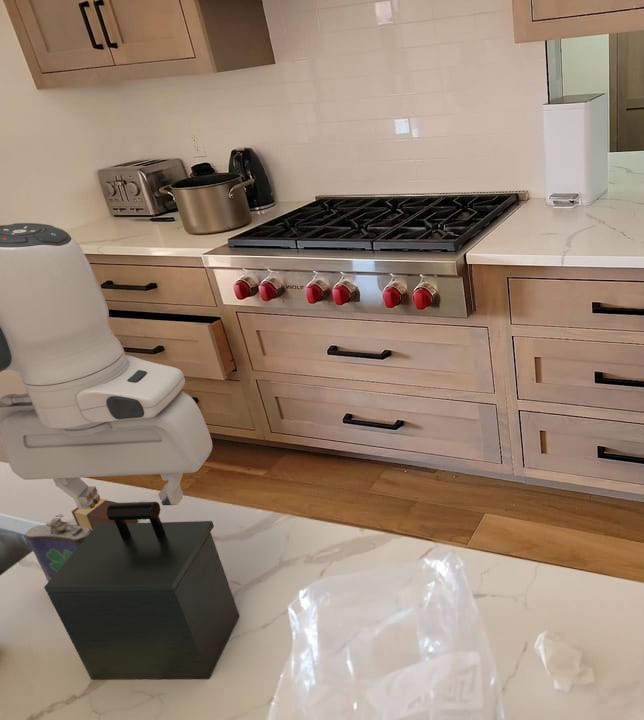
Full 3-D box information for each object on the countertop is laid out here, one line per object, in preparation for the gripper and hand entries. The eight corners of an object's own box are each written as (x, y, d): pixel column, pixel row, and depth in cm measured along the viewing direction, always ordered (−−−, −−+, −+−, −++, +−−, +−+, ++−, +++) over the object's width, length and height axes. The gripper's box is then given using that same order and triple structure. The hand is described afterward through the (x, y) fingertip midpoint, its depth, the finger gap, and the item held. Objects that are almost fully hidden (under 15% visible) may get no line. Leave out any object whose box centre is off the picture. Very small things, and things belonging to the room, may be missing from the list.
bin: (132, 617, 82) (95, 535, 76) (239, 616, 80) (210, 532, 75) (90, 679, 74) (46, 593, 69) (209, 679, 73) (174, 590, 67)
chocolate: (138, 521, 99) (132, 504, 97) (119, 538, 96) (112, 521, 94) (98, 512, 102) (91, 496, 100) (78, 528, 99) (70, 511, 97)
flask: (46, 590, 88) (13, 524, 83) (62, 573, 90) (32, 509, 85) (108, 595, 86) (78, 528, 81) (123, 578, 88) (95, 512, 84)
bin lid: (100, 529, 77) (83, 492, 75) (214, 526, 76) (201, 488, 73) (46, 592, 69) (26, 553, 66) (174, 590, 67) (158, 550, 65)
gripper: (-38, 412, 64) (21, 526, 70) (167, 401, 62) (209, 520, 68) (8, 380, 70) (59, 488, 76) (197, 369, 68) (233, 481, 74)
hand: (131, 503), depth 72 cm, fingers open, 8 cm apart
